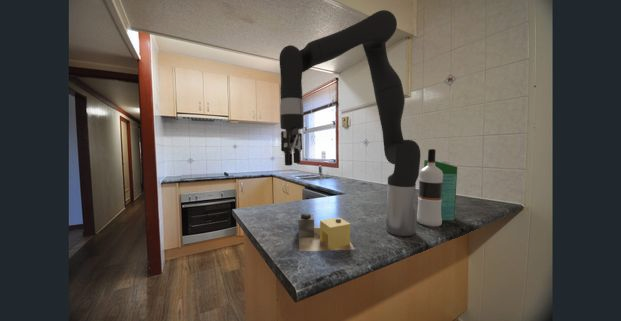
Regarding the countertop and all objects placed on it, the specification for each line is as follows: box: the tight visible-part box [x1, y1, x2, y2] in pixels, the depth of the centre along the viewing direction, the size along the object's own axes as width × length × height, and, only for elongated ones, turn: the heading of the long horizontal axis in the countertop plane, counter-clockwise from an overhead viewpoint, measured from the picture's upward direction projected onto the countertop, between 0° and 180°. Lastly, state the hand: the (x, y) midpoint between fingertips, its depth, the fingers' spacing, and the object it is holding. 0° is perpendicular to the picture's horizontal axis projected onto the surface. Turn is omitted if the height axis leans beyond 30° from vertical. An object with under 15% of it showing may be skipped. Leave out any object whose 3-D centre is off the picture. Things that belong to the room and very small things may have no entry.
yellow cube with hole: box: [319, 217, 351, 249], centre depth 64 cm, size 7×6×7 cm
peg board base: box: [297, 212, 356, 252], centre depth 67 cm, size 16×16×8 cm
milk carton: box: [423, 159, 458, 221], centre depth 91 cm, size 9×9×25 cm
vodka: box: [417, 148, 443, 228], centre depth 83 cm, size 9×9×30 cm
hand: (293, 164), depth 68 cm, fingers open, 8 cm apart
